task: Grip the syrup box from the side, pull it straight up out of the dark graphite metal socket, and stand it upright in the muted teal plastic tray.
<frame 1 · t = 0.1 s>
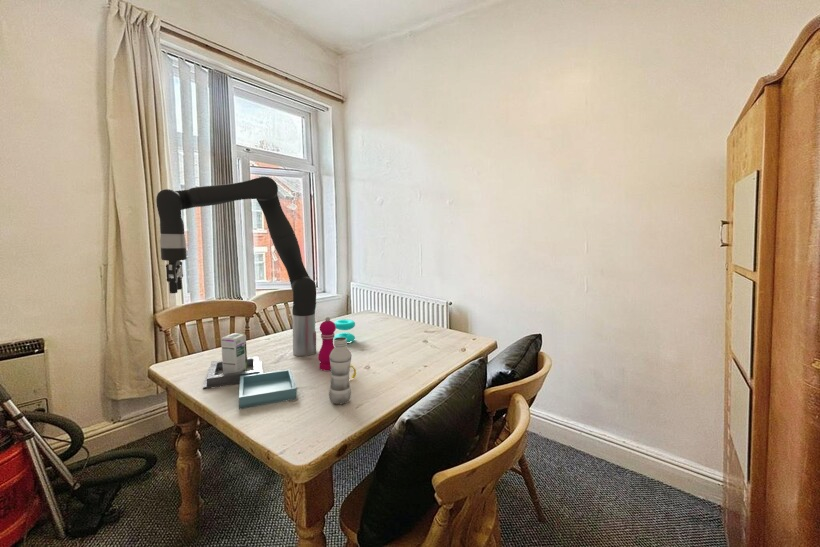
hand: (176, 291, 121), 29 cm above the table, tool pointing down, fingers open, 8 cm apart
syrup box: (235, 374, 120), resting in metal socket
tray: (267, 392, 108), on the table
watch: (347, 381, 118), on the table
donuts: (344, 341, 161), on the table
plastic bottle: (340, 402, 103), on the table
metal socket: (235, 374, 120), on the table
pepper mill: (327, 368, 129), on the table
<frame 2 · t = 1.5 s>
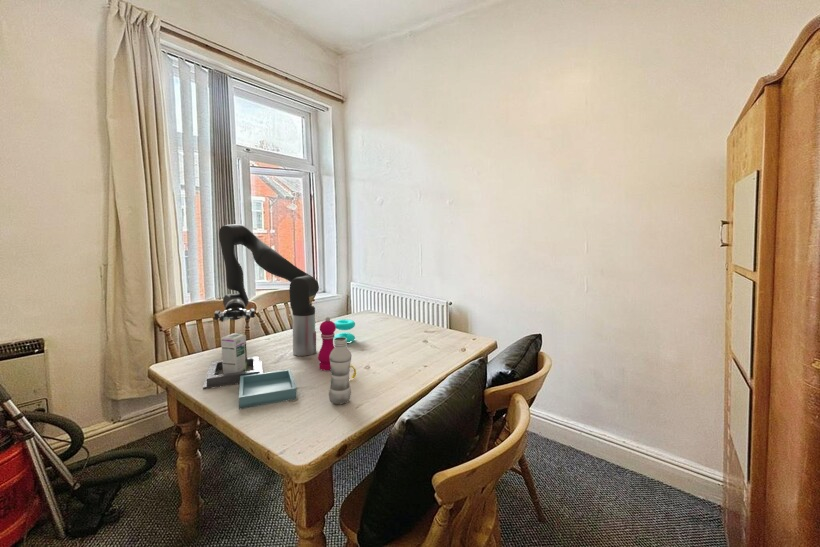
hand: (235, 318, 128), 18 cm above the table, tool horizontal, fingers open, 8 cm apart
nothing on the table moved.
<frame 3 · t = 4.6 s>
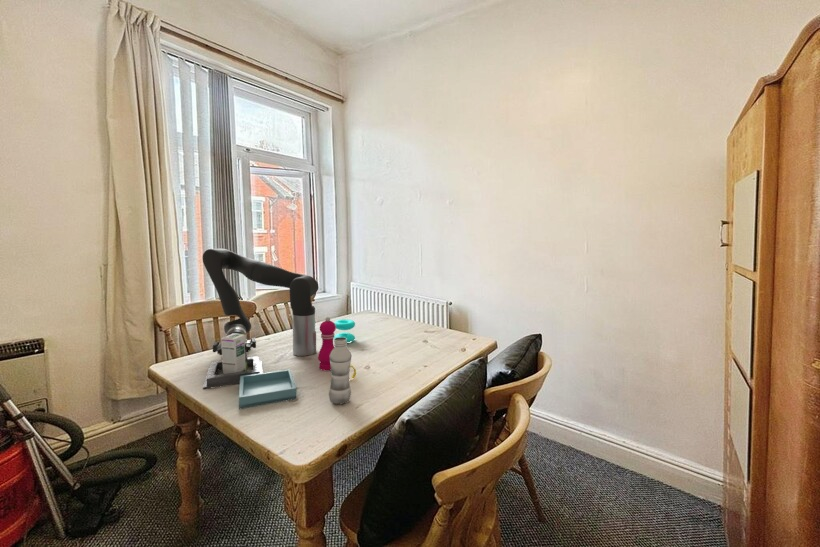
hand: (234, 350, 119), 9 cm above the table, tool horizontal, fingers open, 8 cm apart
nothing on the table moved.
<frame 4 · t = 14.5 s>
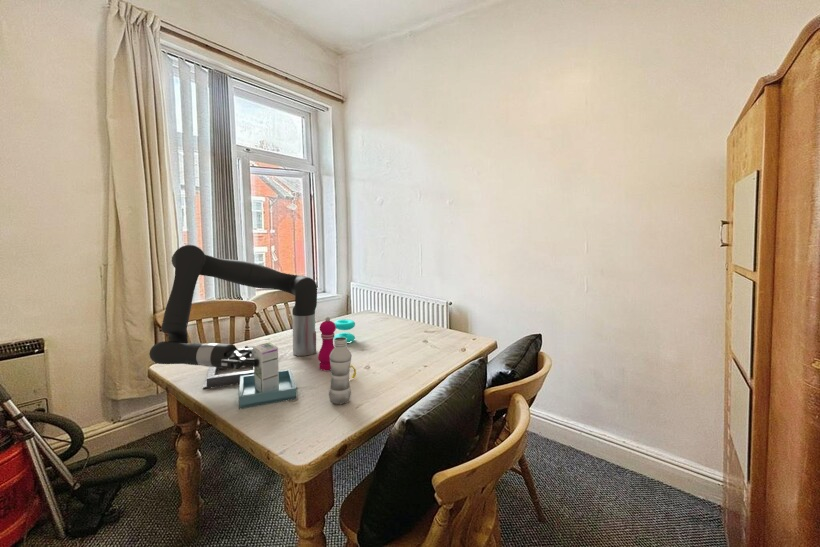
hand: (265, 357, 106), 12 cm above the table, tool horizontal, fingers open, 8 cm apart
syrup box: (266, 390, 107), point 1 cm above the table, touching tray
everything else where it was.
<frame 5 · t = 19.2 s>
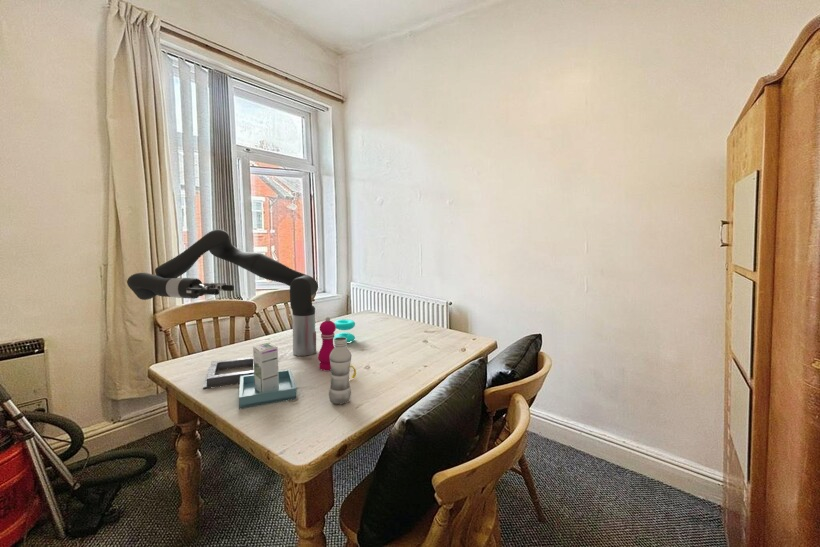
hand: (226, 289, 122), 30 cm above the table, tool horizontal, fingers open, 8 cm apart
nothing on the table moved.
at the end: syrup box inside the target area on the tray (0.4 cm from its centre), point 0.8 cm above the tray's base; syrup box tilted 0°; the gripper is holding nothing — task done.
